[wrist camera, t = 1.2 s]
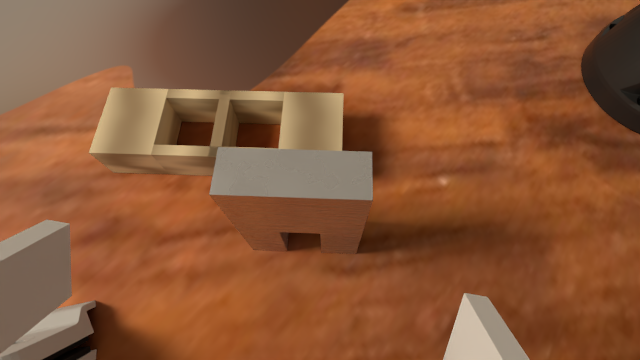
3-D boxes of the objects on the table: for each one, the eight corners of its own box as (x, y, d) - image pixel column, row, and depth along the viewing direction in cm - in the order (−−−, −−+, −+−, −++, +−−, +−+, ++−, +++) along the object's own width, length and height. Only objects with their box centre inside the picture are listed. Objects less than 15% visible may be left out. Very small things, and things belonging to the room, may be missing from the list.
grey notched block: (356, 220, 33) (372, 151, 21) (356, 253, 32) (372, 200, 20) (257, 217, 33) (217, 147, 21) (253, 249, 32) (209, 194, 20)
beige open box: (341, 117, 37) (343, 93, 34) (340, 179, 35) (341, 160, 31) (131, 112, 38) (111, 87, 35) (113, 172, 35) (88, 152, 32)
